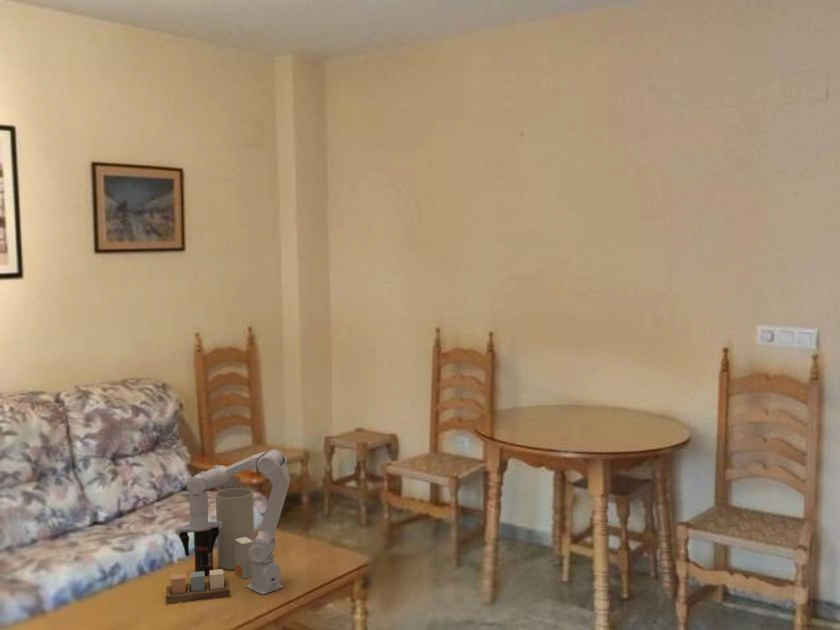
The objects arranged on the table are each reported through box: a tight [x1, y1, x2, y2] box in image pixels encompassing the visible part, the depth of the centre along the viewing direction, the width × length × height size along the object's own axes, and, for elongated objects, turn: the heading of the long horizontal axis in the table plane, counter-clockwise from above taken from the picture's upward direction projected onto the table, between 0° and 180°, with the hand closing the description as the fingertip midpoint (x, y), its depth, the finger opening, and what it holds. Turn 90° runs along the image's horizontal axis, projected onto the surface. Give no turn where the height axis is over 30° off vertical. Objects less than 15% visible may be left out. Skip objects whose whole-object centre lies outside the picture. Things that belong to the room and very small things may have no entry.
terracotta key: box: [170, 573, 187, 594], centre depth 257 cm, size 4×4×5 cm
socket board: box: [165, 579, 231, 605], centre depth 259 cm, size 9×19×2 cm, turn 106°
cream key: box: [208, 568, 225, 590], centre depth 260 cm, size 4×4×5 cm
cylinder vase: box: [215, 487, 255, 571], centre depth 285 cm, size 12×12×25 cm
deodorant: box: [193, 530, 214, 577], centre depth 277 cm, size 6×6×15 cm
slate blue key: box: [190, 571, 206, 592], centre depth 258 cm, size 4×4×5 cm
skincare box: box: [234, 537, 253, 580], centre depth 274 cm, size 6×4×12 cm
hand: (198, 553), depth 266 cm, fingers open, 7 cm apart
